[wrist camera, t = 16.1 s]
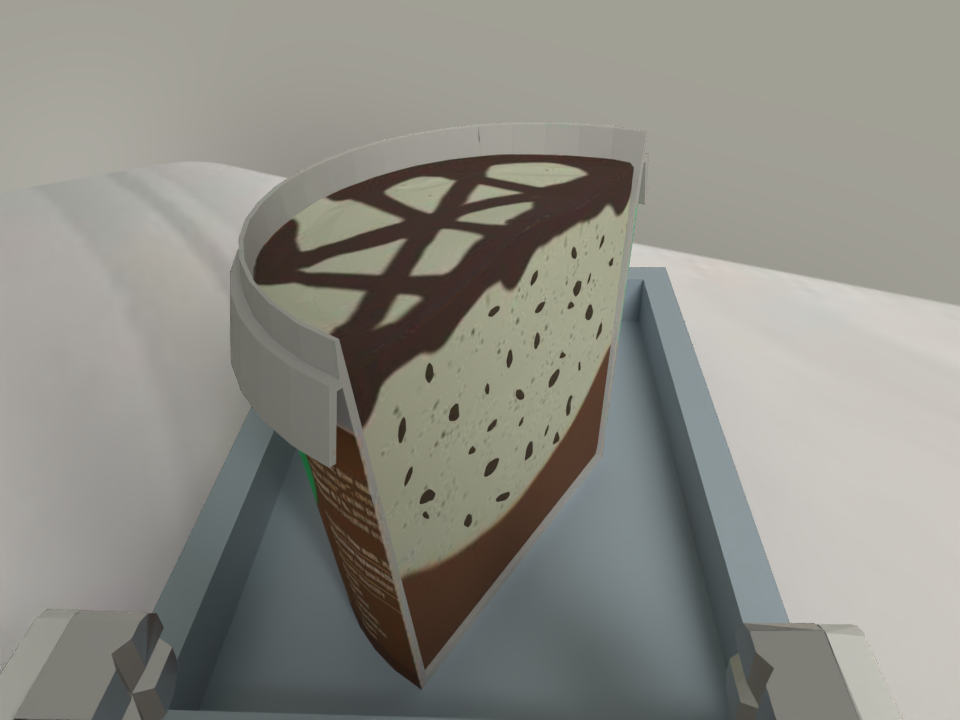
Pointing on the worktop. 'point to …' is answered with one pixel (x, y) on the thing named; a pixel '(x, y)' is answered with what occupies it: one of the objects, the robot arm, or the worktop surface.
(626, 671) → the tray
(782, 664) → the robot arm
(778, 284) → the worktop surface
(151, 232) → the worktop surface
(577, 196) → the food container
